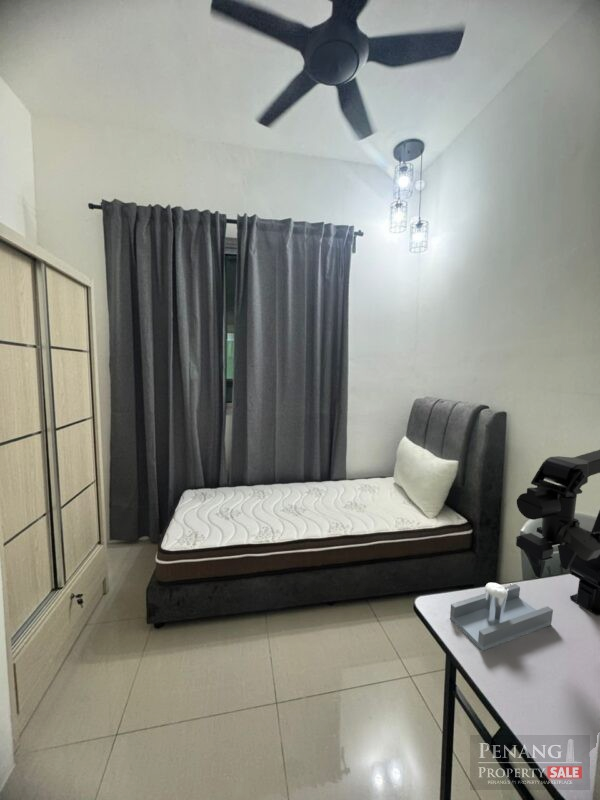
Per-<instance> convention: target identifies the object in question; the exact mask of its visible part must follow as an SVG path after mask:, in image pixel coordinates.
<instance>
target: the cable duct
mask: <svg viewBox="0 0 600 800" xmlns="http://www.w3.org/2000/svg"><path fill="white" fill-rule="evenodd" d="M509 586H510V585H509ZM509 586H505V587H504V588H505V589H506V590H507V589H508V587H509ZM520 591H521V587H520V586H519V585H518V584H517V583H515V584H511V587H510V588H509V590H508V592H507V593H508V595H507V599H506V604H505V608H504V613H503V619H502V623H499V624H496V625H493V624H491V623H489V621H488V620H487V619H486V592H485V593H482V594H479V595H476V596H472V597H469V598H466V599H463V600H459V601H456V602H453V603H450V612H449V613H450V614H449V620H451V621H452V622H453V623H454V624H455V625H456V626H457V627H458V628H459V629H460V631H462V632H463V633H464V635H466V637H468V638H469V639H470V641H472V642H473V643H474V644H475V646H477V647H478V648H479V649H480V650H481V651H482V652H484V651H486V650H489V649H491V648H494V647H496V646H499V645H502V644H504V643H507V642H509V641H513V640H515V639H517V638H520V637H522V636H525V635H528V634H530V633H533V632H536V631H539V630H542V629H544V628H546V627H549V626H552V623H553V622H552V621H553V611H554V609H552V608H551V607H550V606H548V605H547V606H544V607H541V608H538V609H536V608H534V607H533V606H532V605H530V604H529V603H528V602H526V601H525V600H524V599H522V598H521V597H520V594H521V592H520Z"/></svg>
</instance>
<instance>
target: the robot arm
mask: <svg viewBox="0 0 600 800" xmlns="http://www.w3.org/2000/svg"><path fill="white" fill-rule="evenodd" d="M597 474H600V449H597V450H595V451H594V450H593V451H591V452H587V453H584V454H580V455H577V456H574V457H572V456H571V457H570V456H561V455H560V456H549V457H548V458H546V459H544V461H543V462H542V464H541V465H540V467H539V468H538V470H537V472H536V473H535V475H534V477H532V480H531V481H530V484H531V485H533V486H536V487H527V488H526V492H524V493H521V494H520V495H518V497H517V499H516V507H517V509H518V511H519V513H520V514H521V515H522V516H524V517H525V518H527V519H528V520H533V521H535V520H538V519H539V520H541V526H538V527H536V532H537V533H538V534H541V536H542V537H540V536H537V535H536V534H534V533H532V532H528V533H524V534H520V535H517V536H516V538H515V546H516V547H517V548H519V549H521V550H523V552H524V554H525V555H526V557H527V560H528V562H529V564H530V566H531V569H532V571H533V573H534V575H535V576H536V577H538V578H539V579H540V578H542V576H543V574H544V573H543V572H544V569H545V565H546V562H547V560H552V559H553V556H552V555H553V554H554V547H557V549H558V555H559V556H558V557H559V562H560V567H561V568H562V569H564V570H566V571H567V570H569V573H570V575H571V576H573V577H575V578H577V579H579V580H578V587H577V592H576V593H575V594H572V595H570V597H569V599H570V600H572V601H573V602H575V603H577V604H578V605H579V606H582V607H583V608H585V609H587V610H588V611H589V612H591V613H592V614H593V615H595V616H600V509H599V510H598V513H597V516H596V519H595V520H594V524H593V526H592V528H591V531H589V530H587V529H585V528H582V527H580V524H581V522H580V521H579V519H578V518H576V517H575V515H576V514H575V513H576V506H577V505H576V504H577V497H578V495H579V494H582V493H583V490H582V489H581V488H582V487H583V486H584V485H586V484H588V481H589V477H591V476H594V475H597Z"/></svg>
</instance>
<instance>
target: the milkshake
mask: <svg viewBox="0 0 600 800" xmlns="http://www.w3.org/2000/svg"><path fill="white" fill-rule="evenodd" d="M511 585H512V583H510V584H509V587H508V586H507V587H508V589H507V590H506V589H505V587H504V586H503V585H501V584H499V583H497V582H488V583H486V585H485V593H486V619H487V620H488V621H489V623H491V624H493V625H496V624H499V623H502V619H503V613H504V608H505V604H506V599H507V595H508V593H507V592H508V590H509V588H510V587H511Z"/></svg>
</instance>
